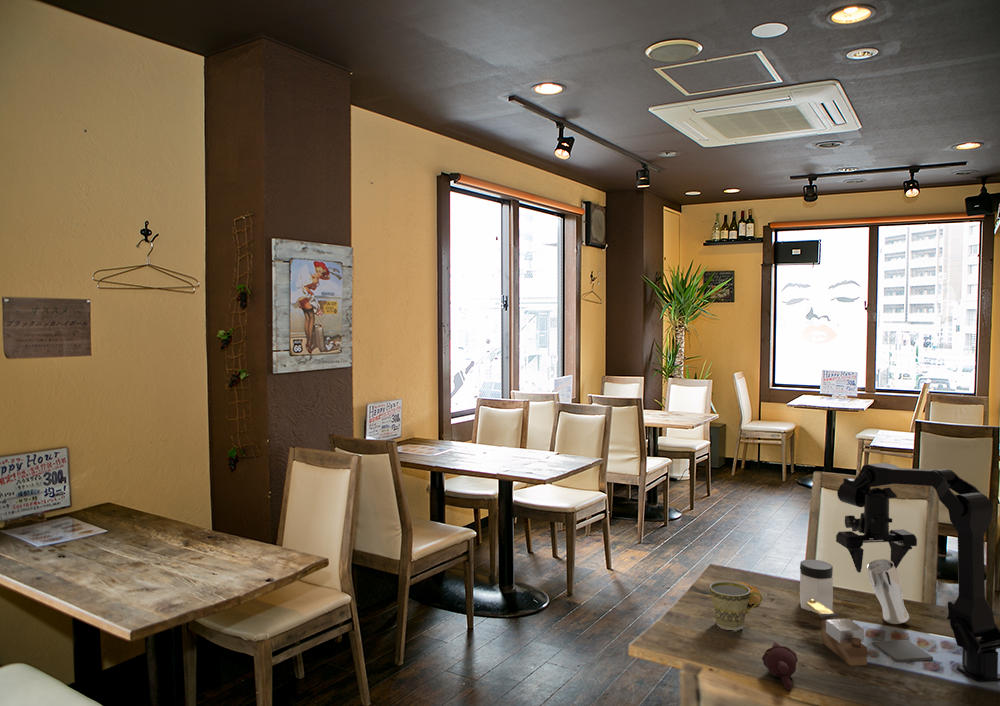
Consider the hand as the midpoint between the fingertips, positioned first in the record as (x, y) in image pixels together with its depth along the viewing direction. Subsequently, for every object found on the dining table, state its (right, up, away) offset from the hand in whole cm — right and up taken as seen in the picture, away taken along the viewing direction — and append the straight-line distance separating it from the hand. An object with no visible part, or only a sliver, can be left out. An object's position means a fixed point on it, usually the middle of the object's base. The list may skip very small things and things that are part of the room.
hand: (875, 571), depth 183 cm
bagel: (-29, -14, +17) cm, 36 cm away
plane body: (-16, -15, -15) cm, 27 cm away
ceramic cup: (-37, -14, 0) cm, 39 cm away
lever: (-17, -9, -6) cm, 20 cm away
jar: (-11, -14, +11) cm, 20 cm away
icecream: (-35, -16, -26) cm, 46 cm away
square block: (-16, -11, -16) cm, 25 cm away
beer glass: (+6, -13, +2) cm, 14 cm away
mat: (-2, -14, -15) cm, 21 cm away
